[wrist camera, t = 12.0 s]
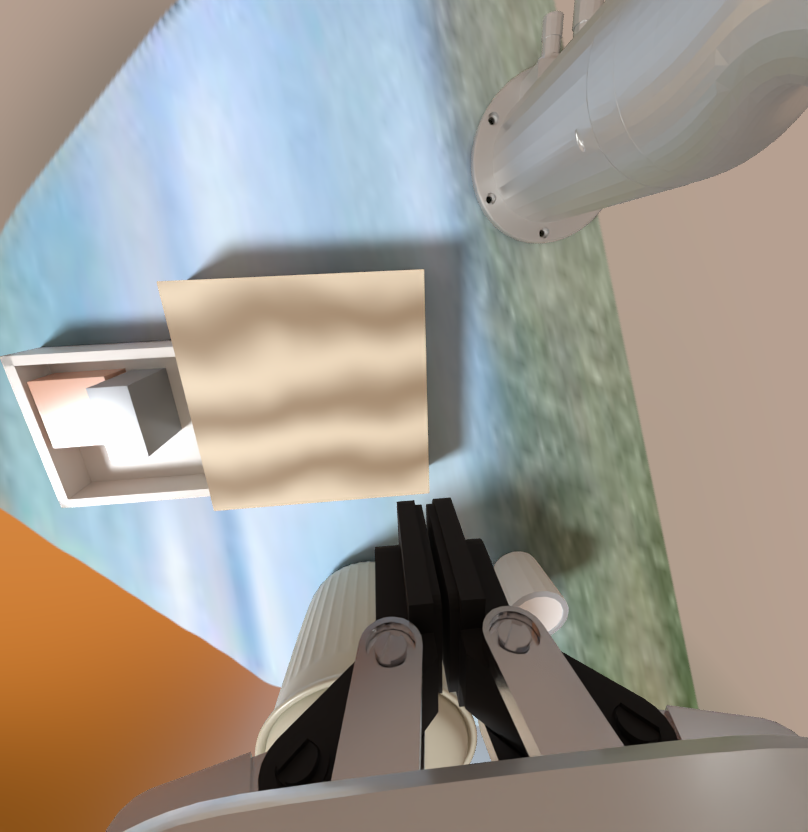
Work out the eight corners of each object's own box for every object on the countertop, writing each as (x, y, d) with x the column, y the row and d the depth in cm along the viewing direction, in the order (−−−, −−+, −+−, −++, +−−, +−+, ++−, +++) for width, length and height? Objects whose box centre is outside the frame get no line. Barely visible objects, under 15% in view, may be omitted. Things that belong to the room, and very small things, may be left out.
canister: (439, 646, 51) (483, 881, 31) (299, 655, 50) (252, 908, 30) (446, 531, 45) (506, 735, 25) (286, 538, 43) (217, 759, 24)
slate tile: (165, 367, 35) (131, 369, 35) (126, 385, 29) (85, 388, 29) (182, 429, 37) (149, 431, 37) (148, 456, 32) (110, 459, 31)
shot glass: (510, 538, 46) (533, 582, 39) (553, 561, 48) (582, 606, 41) (476, 578, 48) (493, 627, 41) (518, 599, 49) (541, 649, 43)
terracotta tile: (103, 376, 32) (125, 368, 35) (26, 381, 32) (54, 372, 34) (125, 442, 34) (144, 430, 37) (53, 448, 34) (78, 435, 36)
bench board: (186, 280, 33) (156, 281, 29) (416, 269, 35) (424, 269, 30) (232, 483, 40) (214, 510, 36) (422, 468, 42) (429, 493, 37)
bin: (39, 347, 34) (-1, 356, 31) (196, 338, 35) (176, 346, 31) (91, 485, 39) (61, 508, 35) (227, 475, 40) (213, 495, 36)
